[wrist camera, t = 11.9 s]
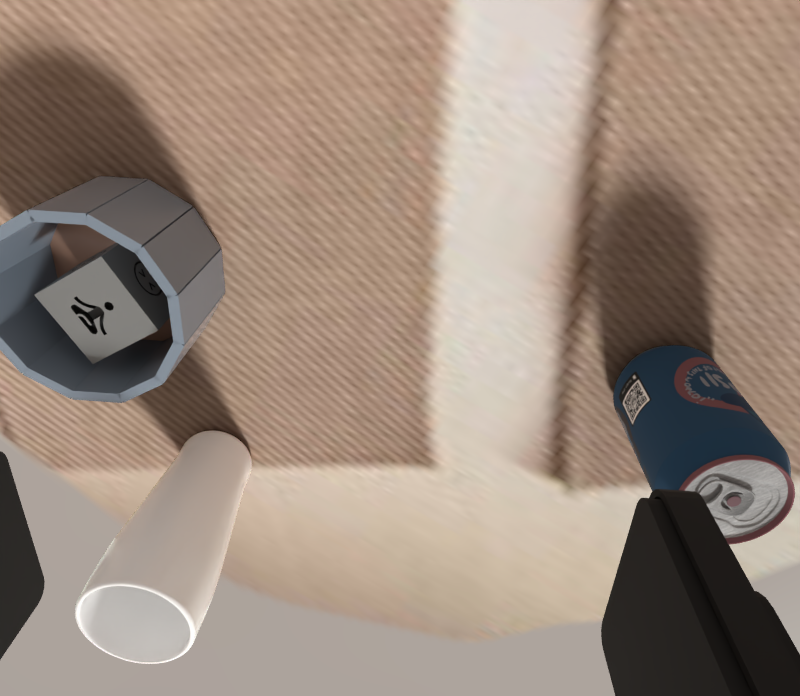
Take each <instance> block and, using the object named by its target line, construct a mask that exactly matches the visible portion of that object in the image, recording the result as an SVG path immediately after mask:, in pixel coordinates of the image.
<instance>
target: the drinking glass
mask: <svg viewBox="0 0 800 696" xmlns="http://www.w3.org/2000/svg"><path fill="white" fill-rule="evenodd" d="M251 469H252V459H251V455H250V453H249V451H248V449H247V448H246V446H245V445H244V444H243V443H242V442H241V441H240V440H239V439H237V438H236V437H234V436H232V435H230V434H228V433H225V432H222V431H215V430H210V431H203V432H200V433H197V434H195V435H193V436H192V437H190V438H189V439H188V440H187V441H186V442H185V444H184V445H183V447H182V448H181V450H180V452H179V453H178V455H177V457H176V458H175V459H174V461H173V462H172V464H171V465H170V466H169V468H168V469H167V470H166V472H165V473H164V474H163V476H162V477H161V478H160V480H159V481H158V482H157V483H156V485H155V486H154V487H153V489H152V490H151V491H150V493H149V494H148V495H147V497H146V498H145V499H144V500H143V502H142V503H141V504H140V506H139V507H138V508H137V510H136V511H135V512H134V513H133V515H132V516H131V517H130V519H129V520H128V521H127V523H126V524H125V525H124V526H123V528H122V529H121V530H120V532H119V533H118V535H117V536H116V537H115V539H114V540H113V541H112V543H111V544H110V546H109V547H108V549H107V550H106V552H105V553H104V555H103V557H102V558H101V560H100V561H99V563H98V565H97V567H96V568H95V570H94V571H93V573H92V575H91V577H90V578H89V580H88V582H87V584H86V586H85V588H84V589H83V591H82V593H81V595H80V597H79V598H78V600H77V603H76V607H75V617H76V621H77V624H78V626H79V628H80V630H81V631H82V633H83V634H84V635H85V636H86V638H87V639H89V641H90V642H92V643H93V644H94V645H95V646H97V647H98V648H100V649H101V650H103V651H104V652H106V653H108V654H110V655H112V656H115V657H117V658H120V659H123V660H126V661H131V662H136V663H144V664H155V663H163V662H168V661H171V660H174V659H176V658H178V657H180V656H182V655H183V654H184V653H186V652H187V651H188V649H189V648H190V647H191V646H192V644H193V642H194V640H195V637H196V635H197V633H198V631H199V629H200V627H201V624H202V622H203V620H204V618H205V615H206V613H207V611H208V608H209V605H210V603H211V600H212V598H213V595H214V592H215V589H216V586H217V583H218V580H219V577H220V574H221V571H222V567H223V564H224V560H225V556H226V553H227V549H228V545H229V542H230V538H231V534H232V531H233V527H234V524H235V520H236V517H237V513H238V510H239V506H240V503H241V499H242V496H243V492H244V489H245V486H246V483H247V481H248V478H249V476H250V473H251Z"/></svg>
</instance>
